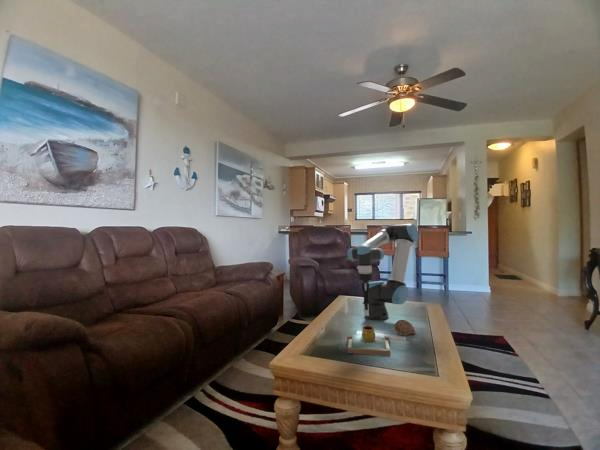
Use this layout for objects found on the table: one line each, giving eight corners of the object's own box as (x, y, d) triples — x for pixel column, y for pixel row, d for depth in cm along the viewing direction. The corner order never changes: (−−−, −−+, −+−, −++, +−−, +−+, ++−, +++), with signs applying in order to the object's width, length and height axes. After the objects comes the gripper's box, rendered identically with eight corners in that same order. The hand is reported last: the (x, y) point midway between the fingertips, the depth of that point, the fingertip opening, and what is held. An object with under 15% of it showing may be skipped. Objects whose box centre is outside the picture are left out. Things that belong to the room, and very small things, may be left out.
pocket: (347, 341, 154) (347, 335, 154) (389, 343, 150) (389, 336, 150) (345, 353, 139) (345, 346, 139) (392, 355, 135) (392, 348, 135)
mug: (376, 342, 151) (376, 329, 152) (362, 342, 152) (362, 329, 152) (373, 334, 163) (372, 322, 164) (360, 335, 164) (359, 322, 164)
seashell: (419, 335, 157) (407, 319, 158) (404, 344, 158) (393, 328, 159) (415, 329, 167) (404, 313, 168) (401, 337, 168) (390, 322, 169)
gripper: (358, 271, 177) (359, 312, 176) (358, 274, 164) (359, 318, 163) (371, 271, 175) (373, 312, 174) (372, 274, 162) (373, 318, 161)
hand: (366, 315), depth 168 cm, fingers closed
